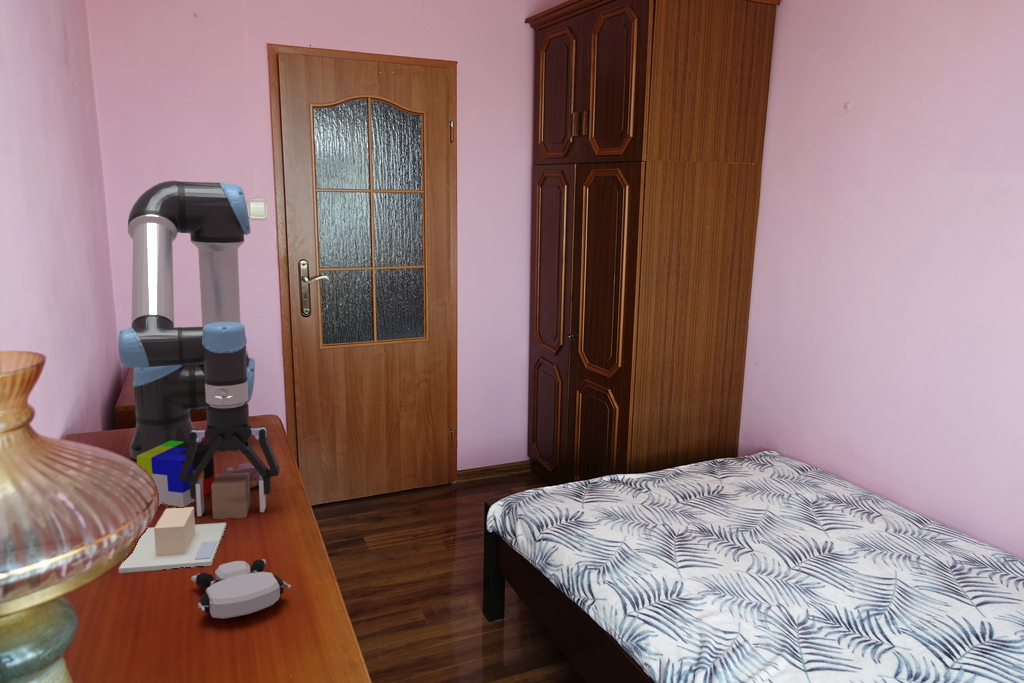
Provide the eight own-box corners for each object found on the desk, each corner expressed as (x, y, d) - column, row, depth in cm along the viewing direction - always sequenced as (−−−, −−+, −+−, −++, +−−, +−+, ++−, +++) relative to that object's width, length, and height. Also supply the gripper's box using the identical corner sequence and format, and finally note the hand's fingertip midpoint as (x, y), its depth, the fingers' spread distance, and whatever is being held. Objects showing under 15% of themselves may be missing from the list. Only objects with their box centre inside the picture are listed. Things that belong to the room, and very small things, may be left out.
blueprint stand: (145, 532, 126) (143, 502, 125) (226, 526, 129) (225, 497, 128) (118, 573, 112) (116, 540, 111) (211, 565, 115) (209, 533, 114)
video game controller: (221, 500, 145) (222, 476, 141) (217, 484, 148) (218, 461, 144) (269, 491, 150) (272, 468, 147) (264, 476, 153) (267, 453, 150)
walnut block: (218, 507, 138) (217, 474, 137) (250, 505, 139) (249, 472, 138) (213, 520, 132) (211, 485, 131) (246, 517, 134) (244, 483, 132)
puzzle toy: (183, 508, 137) (181, 461, 135) (139, 503, 139) (136, 456, 137) (214, 489, 146) (212, 444, 145) (173, 484, 148) (170, 440, 147)
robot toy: (188, 594, 108) (204, 637, 96) (186, 566, 108) (202, 606, 95) (268, 574, 115) (293, 612, 102) (266, 548, 114) (292, 583, 102)
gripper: (155, 410, 125) (162, 523, 129) (289, 406, 131) (292, 515, 135) (166, 400, 133) (172, 507, 136) (292, 396, 138) (295, 500, 142)
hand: (232, 511), depth 136 cm, fingers open, 11 cm apart
